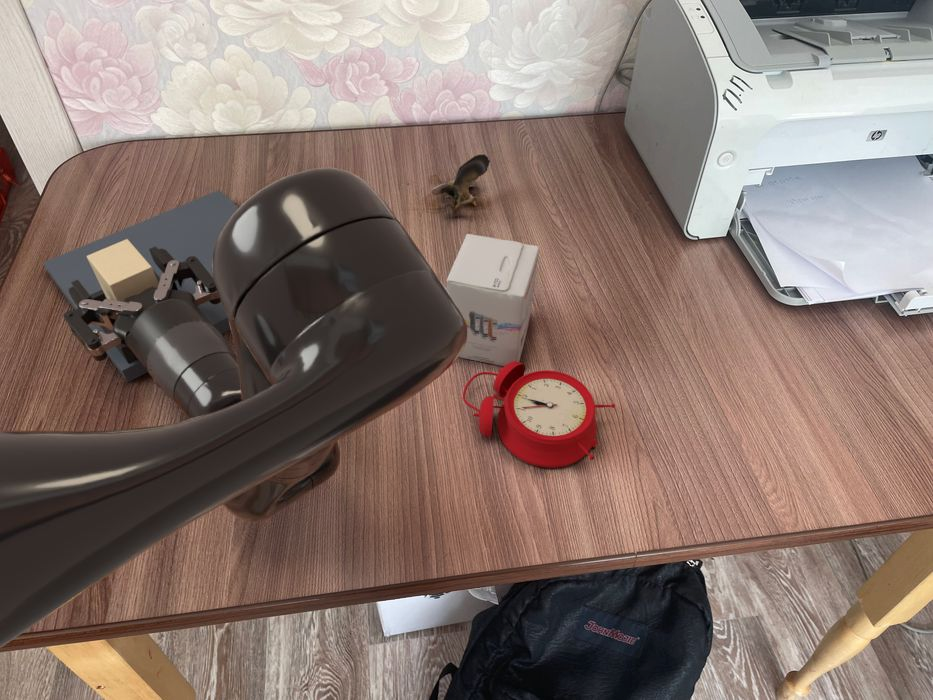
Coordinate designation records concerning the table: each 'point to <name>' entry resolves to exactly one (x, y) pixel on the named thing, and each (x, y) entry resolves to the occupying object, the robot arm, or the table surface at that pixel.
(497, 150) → the table surface
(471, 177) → the eagle figurine
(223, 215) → the dark gray square slab
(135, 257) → the tan rectangular block
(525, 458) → the alarm clock
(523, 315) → the ink box
